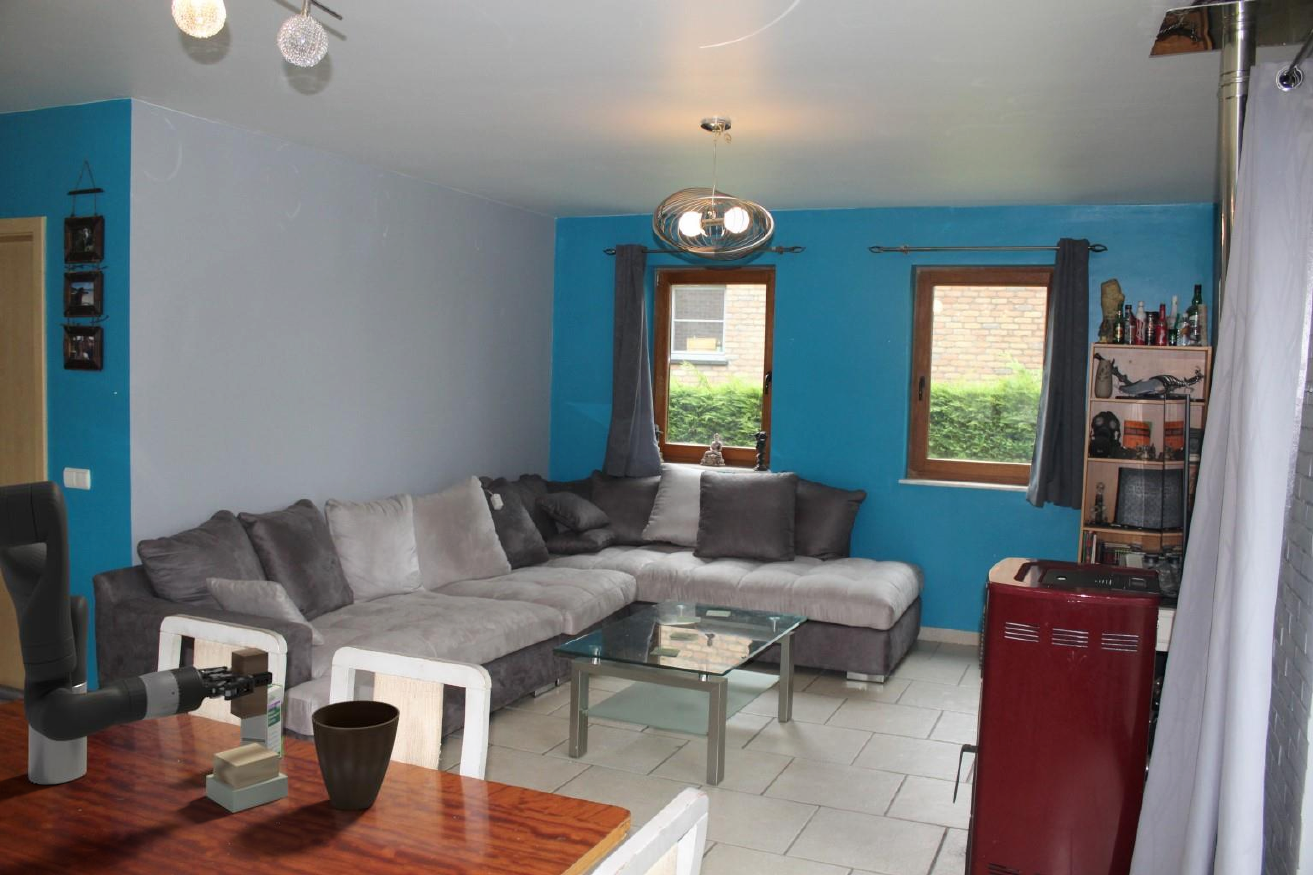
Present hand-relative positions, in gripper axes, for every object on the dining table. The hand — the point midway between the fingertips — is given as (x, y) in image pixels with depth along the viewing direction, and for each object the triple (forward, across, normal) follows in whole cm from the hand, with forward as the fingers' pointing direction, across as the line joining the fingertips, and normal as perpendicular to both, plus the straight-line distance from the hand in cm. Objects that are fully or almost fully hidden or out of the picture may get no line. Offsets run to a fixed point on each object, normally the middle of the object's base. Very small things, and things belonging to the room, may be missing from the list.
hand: (263, 674), depth 184 cm
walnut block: (-3, 0, +6) cm, 7 cm away
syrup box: (+8, +14, +22) cm, 27 cm away
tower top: (-3, +1, +18) cm, 18 cm away
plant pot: (+10, -15, +22) cm, 28 cm away
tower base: (-2, +1, +22) cm, 22 cm away
